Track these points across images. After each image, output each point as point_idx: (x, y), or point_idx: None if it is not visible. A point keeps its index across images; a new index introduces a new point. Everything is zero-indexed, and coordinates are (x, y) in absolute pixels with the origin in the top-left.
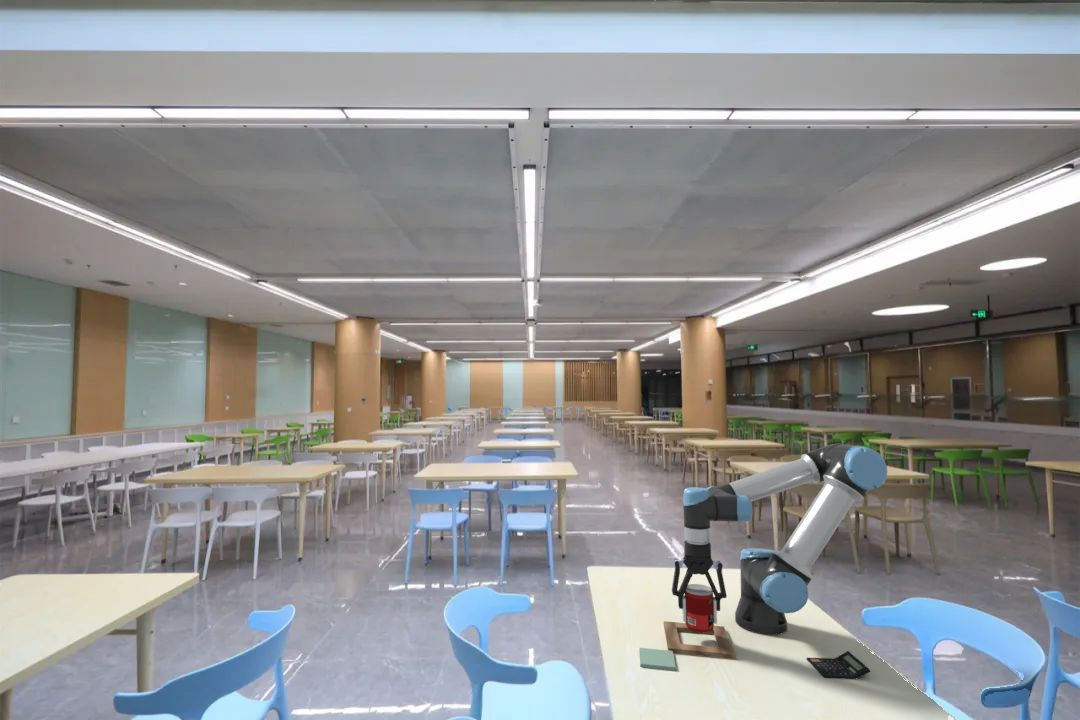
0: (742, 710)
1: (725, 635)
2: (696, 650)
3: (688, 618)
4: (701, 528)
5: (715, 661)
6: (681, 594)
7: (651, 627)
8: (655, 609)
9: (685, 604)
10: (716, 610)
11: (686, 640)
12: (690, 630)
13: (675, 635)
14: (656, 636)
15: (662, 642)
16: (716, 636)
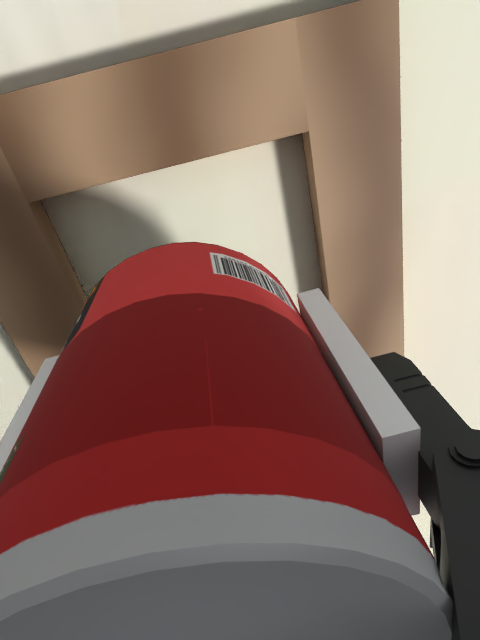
0: None
1: None
2: (179, 56)
3: (284, 297)
4: None
5: (25, 4)
6: (476, 477)
7: (461, 333)
8: (422, 503)
9: (354, 383)
10: (2, 443)
11: (268, 263)
12: None
13: (342, 249)
14: (446, 235)
15: (415, 164)
16: None
